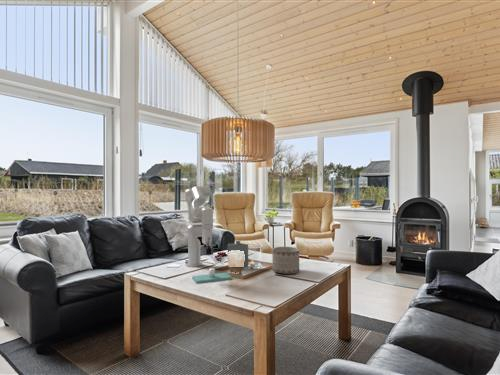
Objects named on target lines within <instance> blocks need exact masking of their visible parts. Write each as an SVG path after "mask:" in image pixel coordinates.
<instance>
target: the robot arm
mask: <svg viewBox="0 0 500 375" xmlns="http://www.w3.org/2000/svg"><path fill="white" fill-rule="evenodd" d="M211 195H212V189H211V187H210V186H208V185H195V186H193V187H192V188H188V189H186V190H185V192H184V198H185V202H186V203H187V217H188V218H187V219H188V222H189V223H192V224H191V225H188V226H187V229H186V234H187V242H188V243H187V246H188V248H187V249H188V250H187V251H188V254H187V255H188V256H187V257H188V258H187V259H188V261H187V263H186V264H185V265H186V267H191V268H196V267H201V266H203V262H202V260H201V259H202V258H201V256H202V246H201V244H203V246H207V248H206V254H207V255H206V256H209V255H208V254H211V246H212V244H213V232H212V231H213V229H214V209H213V208H212V207H210V206H203V205H205V204H206V202H207V199H209V198H210V197H211ZM199 223H200V224H199ZM199 237H201V241H200V239H198V238H199ZM201 242H202V243H201Z"/></svg>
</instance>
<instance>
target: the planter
mask: <svg viewBox="0 0 500 375" xmlns="http://www.w3.org/2000/svg"><path fill="white" fill-rule="evenodd" d="M271 251H272V252H271V254H272V257H271V258H272V268H271V269H272V271H273V272H275V273H278V274H282V273H283V275H290V274H289V273H291V274H296V273H299V271H300V249H299V248H297V247H293V246H277V247H274V248H272V250H271Z"/></svg>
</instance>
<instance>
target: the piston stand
mask: <svg viewBox="0 0 500 375" xmlns="http://www.w3.org/2000/svg"><path fill="white" fill-rule="evenodd" d="M232 278H233V277H232V276H231V275H230V274H229V273H228V272H218V273H216V269H215V268H214V267H213V268H211V267H210V268H209V269H208V274H199V275H193V276H192V280H193V282H195V284H201V283H202V284H203V283H212V282H220V281H229V280H233V279H232Z"/></svg>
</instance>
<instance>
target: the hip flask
mask: <svg viewBox="0 0 500 375" xmlns="http://www.w3.org/2000/svg"><path fill="white" fill-rule="evenodd" d="M231 250H240V251H244V254H245V262H244V267H248V268H249V243H244V242H243V243H241V240H235V243H227V253H228V252H229V251H231ZM244 267H243V268H244Z"/></svg>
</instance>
